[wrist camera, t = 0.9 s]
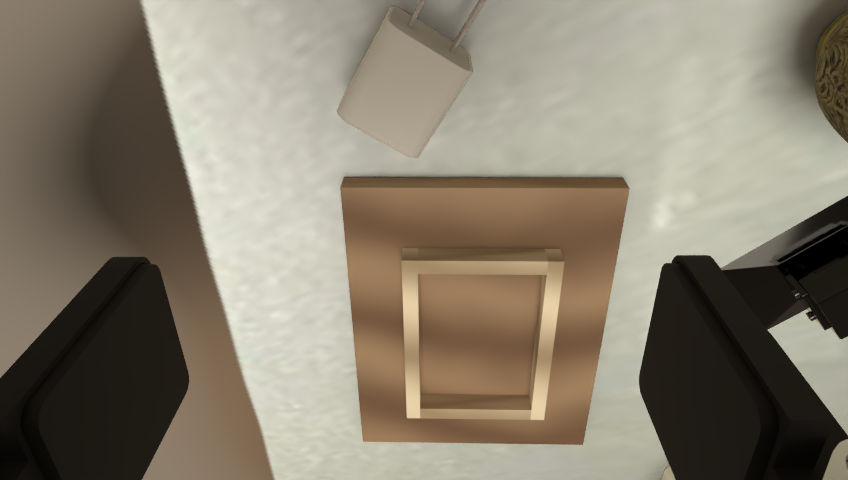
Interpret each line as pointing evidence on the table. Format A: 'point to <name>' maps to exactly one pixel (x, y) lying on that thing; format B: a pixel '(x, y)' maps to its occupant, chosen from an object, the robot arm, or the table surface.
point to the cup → (834, 74)
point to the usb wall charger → (407, 81)
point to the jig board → (479, 304)
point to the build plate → (799, 272)
